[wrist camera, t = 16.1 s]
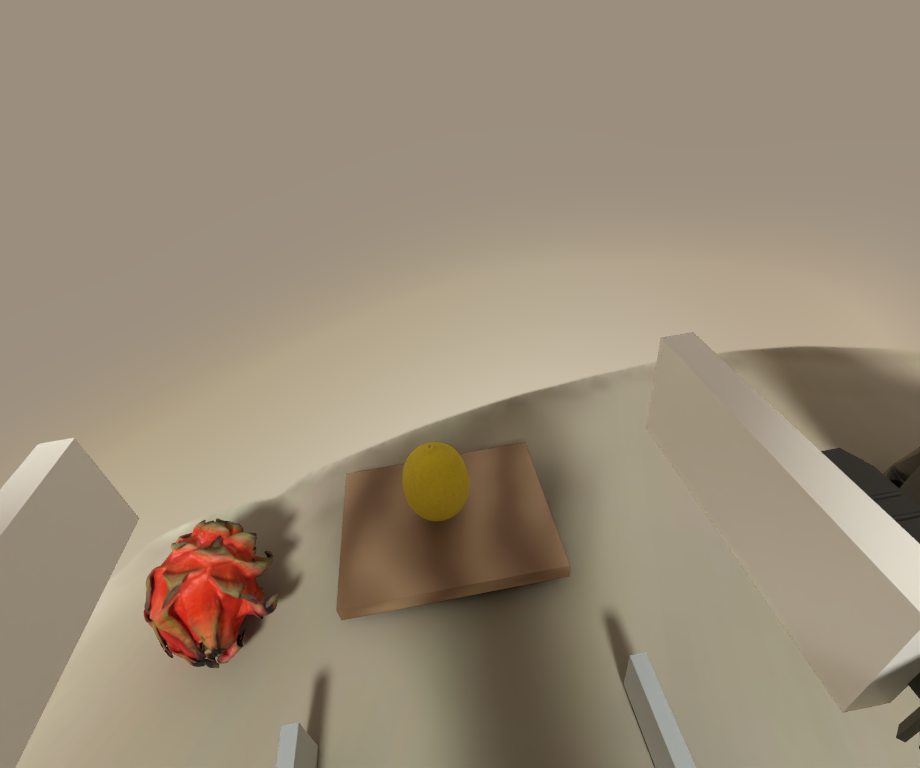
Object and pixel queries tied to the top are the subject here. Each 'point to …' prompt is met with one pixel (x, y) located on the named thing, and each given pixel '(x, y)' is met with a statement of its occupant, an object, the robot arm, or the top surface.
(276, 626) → the top surface
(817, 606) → the robot arm
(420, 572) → the board
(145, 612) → the dragon fruit
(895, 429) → the top surface
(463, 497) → the lemon
